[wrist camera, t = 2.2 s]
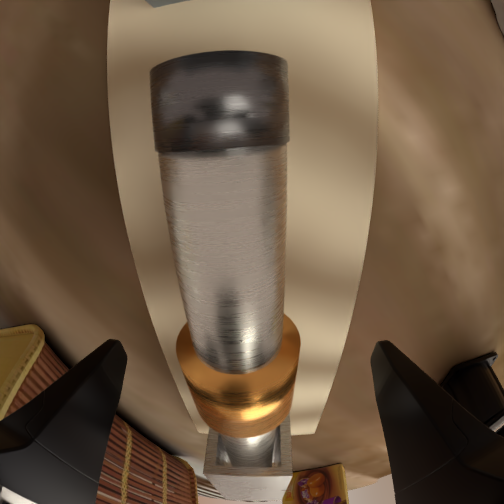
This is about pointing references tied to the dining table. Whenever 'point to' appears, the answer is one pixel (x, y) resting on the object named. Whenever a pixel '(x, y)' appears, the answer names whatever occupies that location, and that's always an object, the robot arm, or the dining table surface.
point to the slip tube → (230, 238)
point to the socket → (163, 2)
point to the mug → (499, 12)
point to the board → (298, 162)
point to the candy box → (318, 486)
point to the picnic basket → (121, 436)
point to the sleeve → (250, 469)
